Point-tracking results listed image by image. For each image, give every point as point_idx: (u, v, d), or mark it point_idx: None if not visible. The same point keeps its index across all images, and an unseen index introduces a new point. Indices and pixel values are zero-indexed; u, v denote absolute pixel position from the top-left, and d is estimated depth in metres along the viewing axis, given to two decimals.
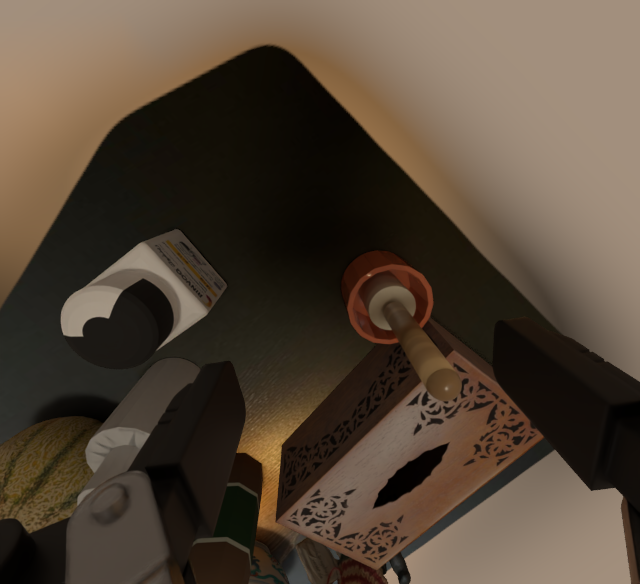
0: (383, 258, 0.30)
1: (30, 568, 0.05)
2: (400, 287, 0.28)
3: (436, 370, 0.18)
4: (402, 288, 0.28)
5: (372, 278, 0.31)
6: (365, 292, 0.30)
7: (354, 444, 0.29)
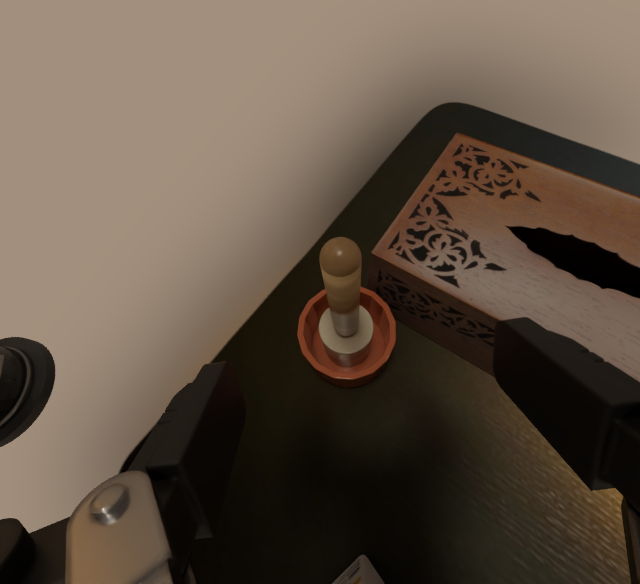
0: None
1: (30, 568, 0.05)
2: (320, 322, 0.25)
3: (323, 269, 0.15)
4: (321, 319, 0.25)
5: (327, 352, 0.28)
6: (340, 359, 0.26)
7: None
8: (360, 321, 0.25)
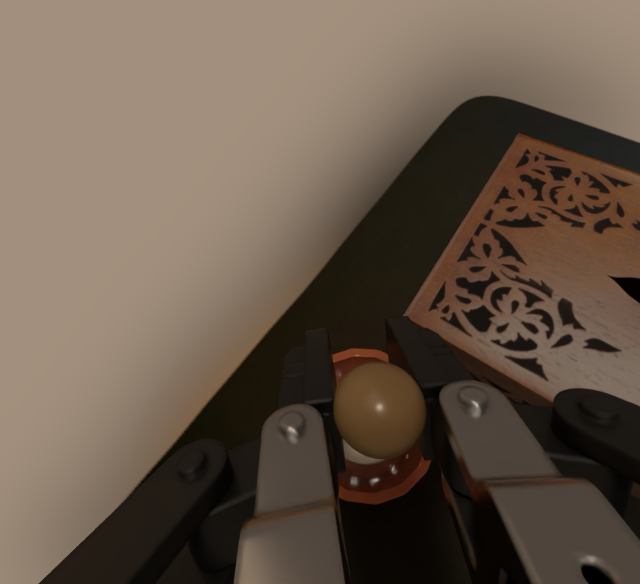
0: None
1: (235, 476, 0.06)
2: None
3: (341, 433, 0.07)
4: None
5: None
6: None
7: None
8: None
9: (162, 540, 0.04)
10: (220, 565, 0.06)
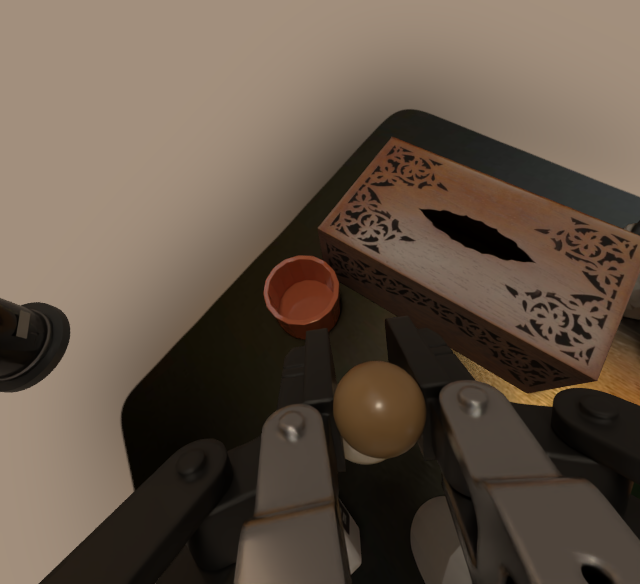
0: None
1: (235, 476, 0.06)
2: None
3: (341, 433, 0.07)
4: None
5: None
6: None
7: (437, 294, 0.27)
8: None
9: (162, 540, 0.04)
10: (220, 565, 0.06)
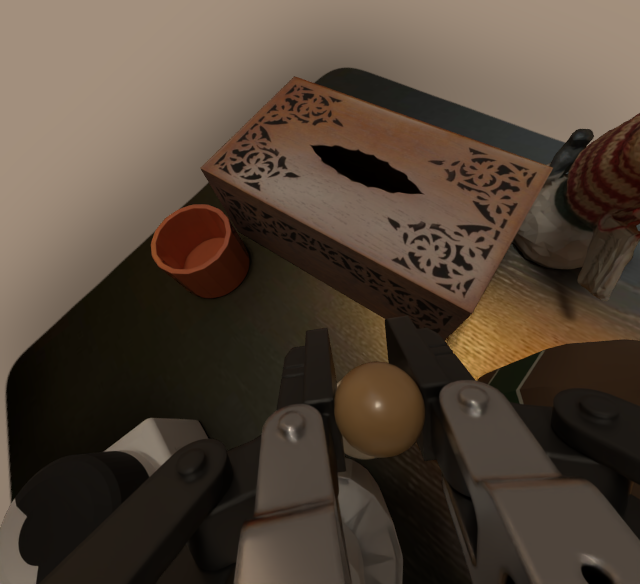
0: None
1: (235, 476, 0.06)
2: None
3: None
4: None
5: None
6: None
7: (314, 229, 0.24)
8: None
9: (162, 540, 0.04)
10: (220, 565, 0.06)
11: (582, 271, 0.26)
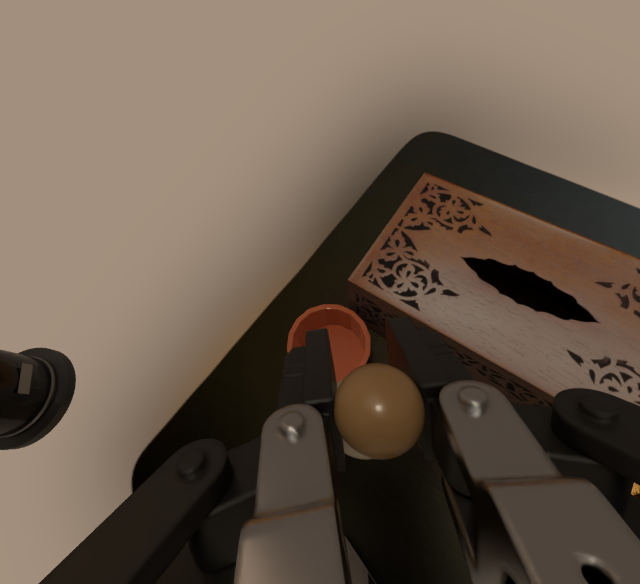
0: None
1: (235, 476, 0.06)
2: None
3: (342, 435, 0.07)
4: None
5: None
6: None
7: (489, 360, 0.24)
8: None
9: (162, 540, 0.04)
10: (220, 565, 0.06)
11: None
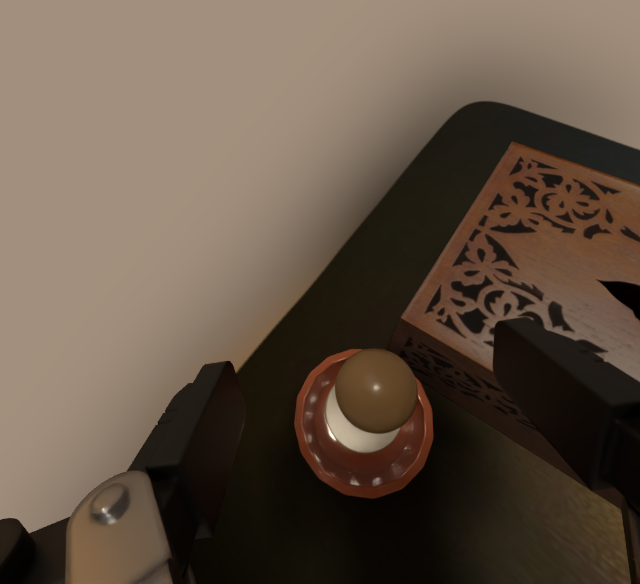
0: None
1: (30, 568, 0.05)
2: (327, 403, 0.18)
3: (343, 413, 0.07)
4: (328, 399, 0.18)
5: None
6: None
7: None
8: None
9: None
10: None
11: None
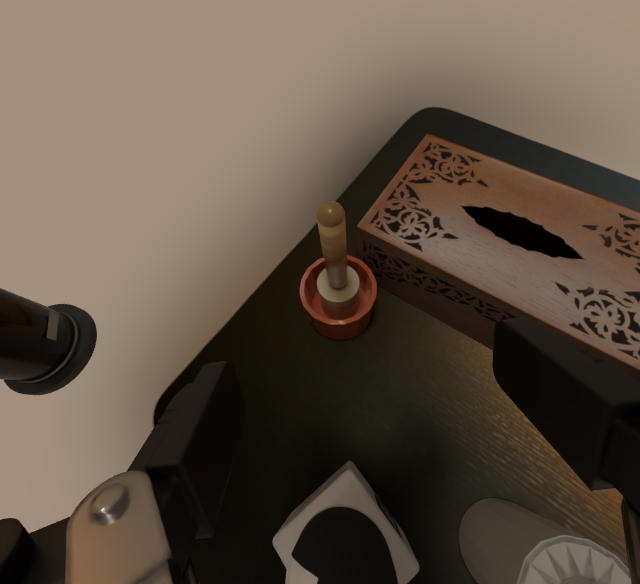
0: None
1: (30, 568, 0.05)
2: (318, 279, 0.32)
3: (319, 223, 0.22)
4: (318, 278, 0.32)
5: (324, 307, 0.35)
6: (334, 310, 0.33)
7: (485, 292, 0.26)
8: (349, 278, 0.32)
9: None
10: None
11: None
